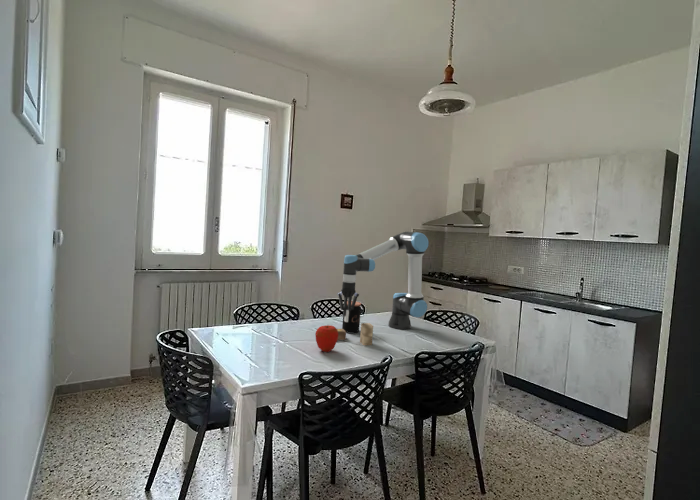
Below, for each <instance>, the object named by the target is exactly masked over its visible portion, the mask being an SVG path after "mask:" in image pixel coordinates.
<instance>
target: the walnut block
mask: <svg viewBox="0 0 700 500" xmlns="http://www.w3.org/2000/svg"><path fill="white" fill-rule="evenodd" d="M336 329H337V330H338V339H337V341H341V340H343V341H344V340H347V339H346V338H347V333H346V331H345V330H344V329H342V328H336Z"/></svg>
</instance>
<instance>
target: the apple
mask: <svg viewBox="0 0 700 500" xmlns="http://www.w3.org/2000/svg"><path fill="white" fill-rule="evenodd" d="M337 329H338V328H336V327H335V326H334V325H330V324H327V325H321V326H319V327H317V329H316V331H315V343H316V345H317V348H318V349H319V350H321V351H322V352H324V353H329V352H331V351H332V350H333V349H334V348H335V346H336V345H337V342H338V340H337V339H338V330H337Z"/></svg>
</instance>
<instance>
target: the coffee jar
mask: <svg viewBox="0 0 700 500" xmlns="http://www.w3.org/2000/svg"><path fill="white" fill-rule="evenodd" d="M352 301H353V300H351V305H352ZM361 305H362V303H361V302H359V301H356V303H355V307H354V309H353V310H351V311H350V316H348V322H345V321H344V318H345V316H343V315H342V325H341V326H342V328H341V329H344V330H345V331H346V334H347V333H348V334H357V333H359V332H360V326H361V325H360V323H361V313H362V312H361V311H362V309H361ZM347 310H348V300H347Z"/></svg>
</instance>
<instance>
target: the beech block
mask: <svg viewBox="0 0 700 500" xmlns="http://www.w3.org/2000/svg"><path fill="white" fill-rule="evenodd" d="M360 323H361V325H360V336H359V343H360V344H361V345H363V346H373V333H374V325H373V324H371V323H370V322H360Z"/></svg>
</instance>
